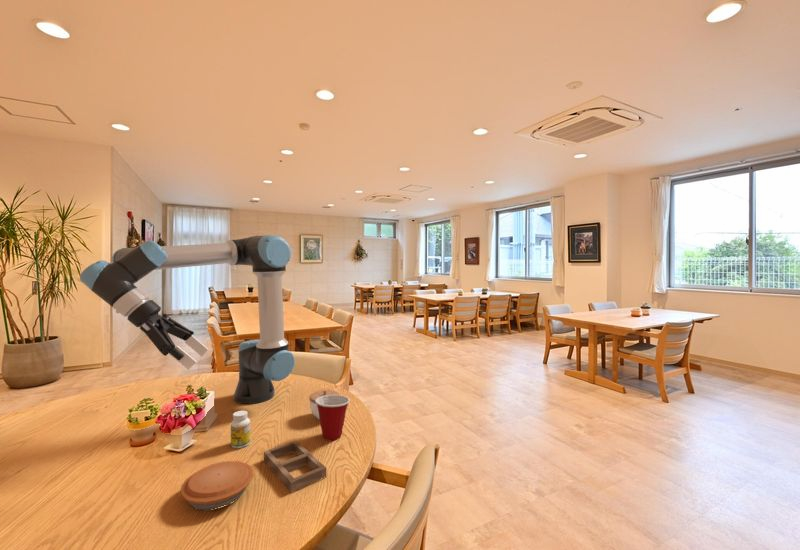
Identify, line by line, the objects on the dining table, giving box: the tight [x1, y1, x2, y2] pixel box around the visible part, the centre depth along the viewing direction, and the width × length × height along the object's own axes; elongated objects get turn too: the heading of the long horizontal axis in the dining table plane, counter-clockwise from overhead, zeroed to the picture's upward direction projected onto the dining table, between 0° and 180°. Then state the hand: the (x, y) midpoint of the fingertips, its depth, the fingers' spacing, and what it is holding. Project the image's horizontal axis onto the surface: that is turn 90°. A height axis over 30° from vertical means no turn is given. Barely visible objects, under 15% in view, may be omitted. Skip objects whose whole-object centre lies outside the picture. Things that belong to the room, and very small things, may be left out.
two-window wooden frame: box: [263, 440, 327, 493], centre depth 95 cm, size 18×10×2 cm, turn 41°
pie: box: [179, 460, 255, 511], centre depth 84 cm, size 15×16×5 cm
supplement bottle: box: [230, 410, 251, 449], centre depth 107 cm, size 5×5×10 cm
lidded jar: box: [308, 389, 341, 421], centre depth 127 cm, size 11×11×9 cm
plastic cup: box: [316, 394, 351, 441], centre depth 113 cm, size 11×11×12 cm
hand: (199, 358), depth 103 cm, fingers open, 13 cm apart
